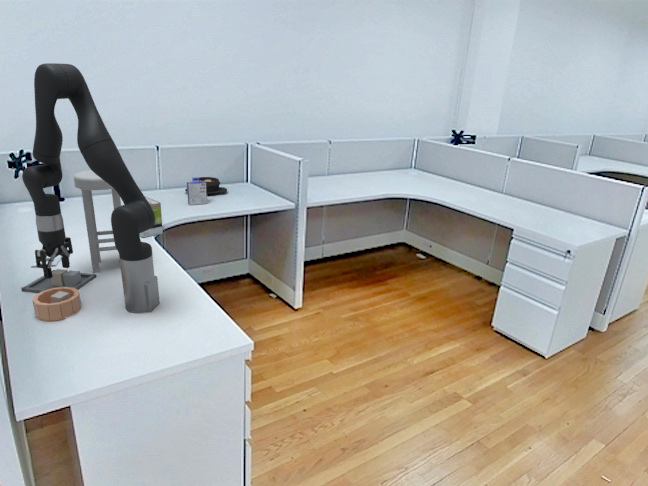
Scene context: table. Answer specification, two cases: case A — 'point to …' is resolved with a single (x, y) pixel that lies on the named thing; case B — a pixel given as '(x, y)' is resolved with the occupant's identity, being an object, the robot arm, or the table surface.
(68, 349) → the table surface
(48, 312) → the bowl
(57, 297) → the pale grey cuboid
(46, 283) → the tray
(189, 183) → the ink cartridge box
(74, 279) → the light gray block
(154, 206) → the tea box
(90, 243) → the stool
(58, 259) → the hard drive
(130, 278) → the robot arm
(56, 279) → the off-white cubic block
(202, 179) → the casserole
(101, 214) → the table surface
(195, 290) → the table surface
